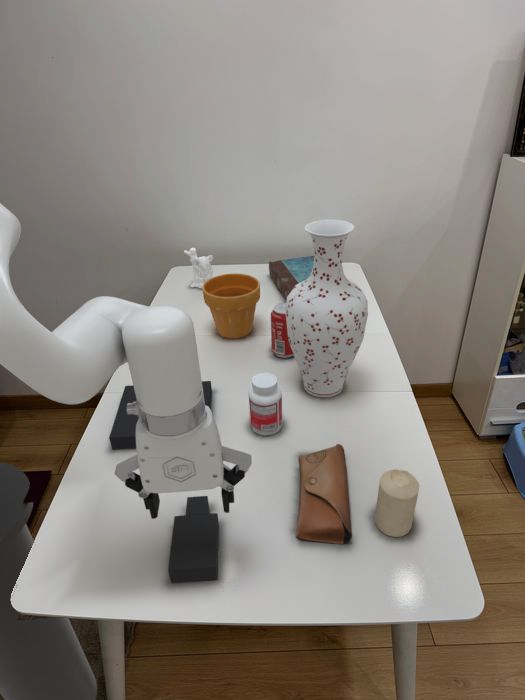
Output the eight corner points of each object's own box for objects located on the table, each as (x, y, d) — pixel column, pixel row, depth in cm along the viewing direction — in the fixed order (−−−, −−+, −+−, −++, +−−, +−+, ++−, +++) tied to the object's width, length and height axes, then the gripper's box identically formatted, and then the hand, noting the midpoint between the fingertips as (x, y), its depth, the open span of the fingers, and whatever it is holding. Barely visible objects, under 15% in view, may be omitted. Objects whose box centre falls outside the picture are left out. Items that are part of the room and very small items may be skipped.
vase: (298, 415, 97) (299, 247, 78) (277, 370, 110) (274, 218, 92) (373, 401, 100) (392, 236, 81) (344, 359, 113) (354, 209, 94)
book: (269, 276, 155) (268, 261, 152) (321, 269, 158) (321, 254, 156) (289, 307, 136) (289, 291, 134) (348, 298, 140) (349, 282, 137)
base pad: (112, 449, 90) (108, 437, 89) (127, 397, 104) (125, 385, 102) (209, 443, 91) (207, 431, 89) (212, 392, 104) (210, 380, 103)
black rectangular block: (170, 583, 67) (167, 570, 66) (179, 510, 78) (176, 497, 76) (217, 580, 68) (216, 567, 66) (219, 507, 78) (218, 494, 77)
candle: (367, 519, 75) (372, 473, 70) (391, 502, 78) (398, 456, 73) (394, 544, 71) (403, 497, 66) (419, 524, 74) (429, 478, 69)
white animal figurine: (185, 290, 148) (180, 252, 142) (191, 280, 154) (186, 244, 148) (212, 290, 147) (209, 253, 141) (217, 281, 153) (214, 244, 147)
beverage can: (303, 351, 117) (303, 306, 110) (286, 362, 113) (286, 317, 106) (283, 342, 120) (282, 299, 114) (266, 353, 117) (264, 308, 110)
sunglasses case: (295, 453, 87) (315, 429, 84) (328, 468, 89) (349, 445, 85) (294, 540, 72) (318, 515, 69) (334, 557, 73) (360, 533, 70)
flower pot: (198, 340, 123) (193, 294, 116) (218, 314, 134) (214, 270, 127) (252, 347, 119) (249, 300, 112) (268, 320, 130) (266, 275, 123)
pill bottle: (265, 411, 98) (263, 366, 92) (288, 424, 95) (288, 378, 89) (244, 427, 94) (240, 381, 89) (267, 441, 91) (265, 394, 85)
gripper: (91, 436, 54) (122, 536, 63) (247, 424, 54) (256, 525, 63) (105, 394, 60) (132, 490, 69) (245, 384, 60) (254, 481, 69)
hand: (191, 507), depth 66 cm, fingers open, 9 cm apart
